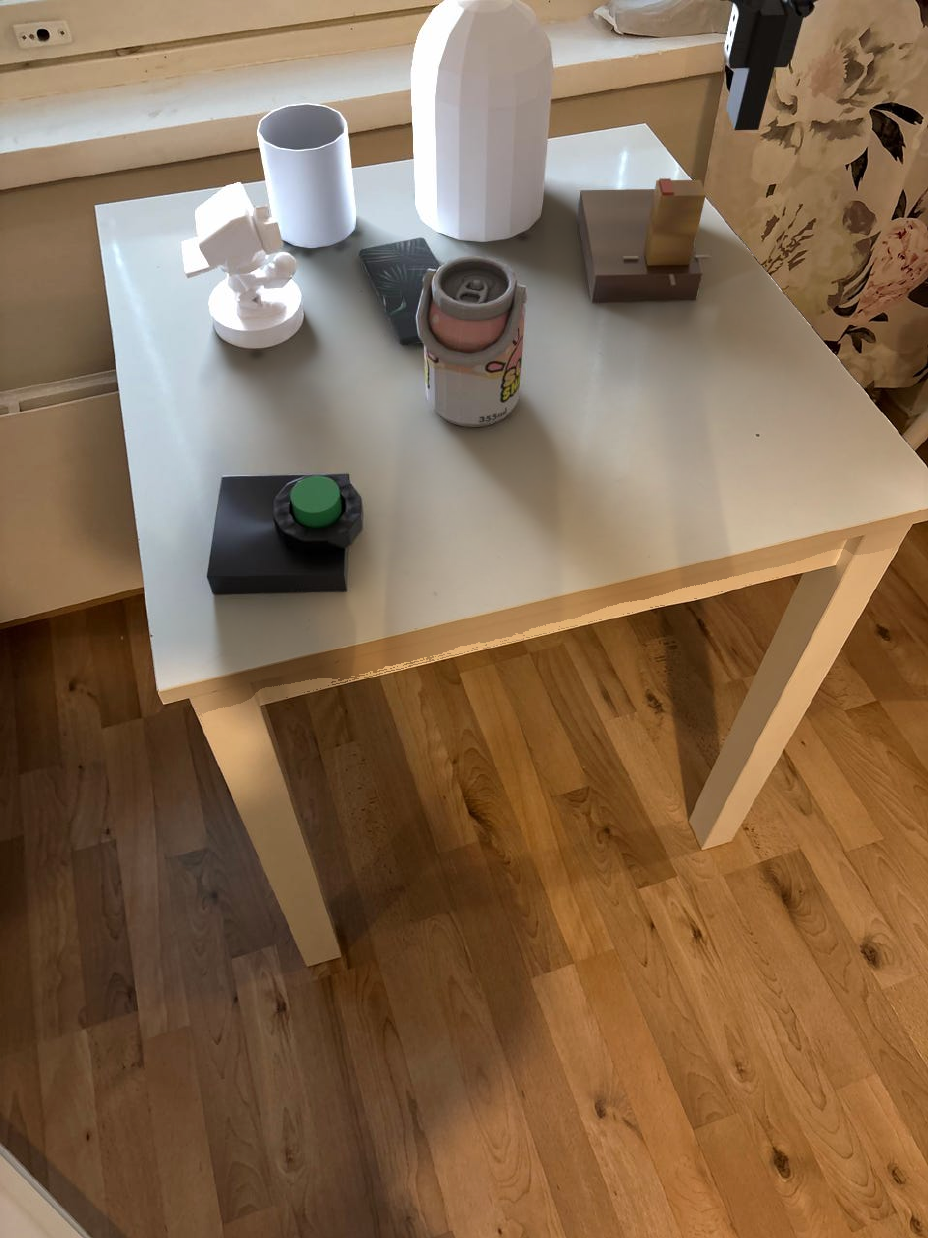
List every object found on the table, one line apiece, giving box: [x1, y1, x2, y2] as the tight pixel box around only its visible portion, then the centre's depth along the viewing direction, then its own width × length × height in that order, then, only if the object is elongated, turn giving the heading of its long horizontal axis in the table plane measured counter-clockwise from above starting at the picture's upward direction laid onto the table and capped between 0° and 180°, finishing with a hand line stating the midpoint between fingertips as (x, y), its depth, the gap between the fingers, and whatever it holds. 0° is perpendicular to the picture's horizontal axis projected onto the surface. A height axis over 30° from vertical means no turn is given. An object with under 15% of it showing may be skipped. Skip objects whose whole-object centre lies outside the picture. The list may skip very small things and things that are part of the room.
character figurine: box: [181, 182, 305, 349], centre depth 84 cm, size 9×10×12 cm
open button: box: [291, 476, 342, 528], centre depth 70 cm, size 4×4×2 cm
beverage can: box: [416, 255, 528, 428], centre depth 78 cm, size 9×8×12 cm
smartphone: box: [358, 237, 440, 347], centre depth 90 cm, size 7×1×15 cm
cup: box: [256, 103, 357, 249], centre depth 93 cm, size 8×8×10 cm
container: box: [410, 0, 555, 243], centre depth 91 cm, size 13×13×20 cm
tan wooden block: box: [644, 177, 706, 266], centre depth 87 cm, size 4×2×7 cm, turn 92°
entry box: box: [206, 472, 364, 595], centre depth 72 cm, size 10×11×4 cm
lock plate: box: [576, 188, 711, 303], centre depth 93 cm, size 16×11×3 cm
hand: (741, 118), depth 59 cm, fingers closed
